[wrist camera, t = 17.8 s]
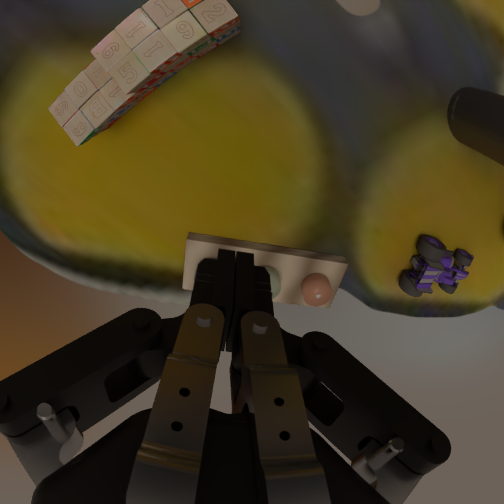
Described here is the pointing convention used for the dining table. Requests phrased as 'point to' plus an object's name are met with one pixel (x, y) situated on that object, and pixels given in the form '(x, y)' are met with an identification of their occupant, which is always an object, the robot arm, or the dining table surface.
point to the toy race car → (434, 268)
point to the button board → (269, 264)
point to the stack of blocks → (141, 61)
